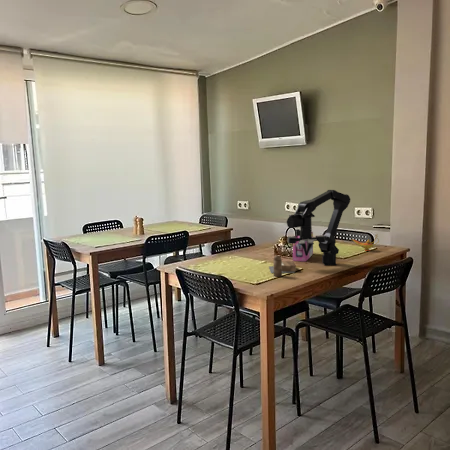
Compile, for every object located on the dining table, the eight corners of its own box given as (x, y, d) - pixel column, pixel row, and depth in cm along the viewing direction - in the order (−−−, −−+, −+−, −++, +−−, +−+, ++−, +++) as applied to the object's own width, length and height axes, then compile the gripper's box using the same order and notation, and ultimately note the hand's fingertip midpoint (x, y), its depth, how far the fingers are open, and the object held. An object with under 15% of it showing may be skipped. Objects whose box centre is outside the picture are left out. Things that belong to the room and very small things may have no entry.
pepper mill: (281, 274, 224) (281, 254, 223) (282, 276, 221) (281, 256, 219) (273, 275, 225) (273, 254, 223) (274, 277, 221) (273, 256, 219)
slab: (293, 261, 239) (280, 261, 239) (295, 265, 229) (281, 265, 229) (293, 266, 239) (280, 266, 239) (295, 271, 229) (282, 271, 229)
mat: (291, 266, 241) (291, 265, 241) (294, 272, 227) (294, 272, 227) (268, 267, 241) (268, 266, 241) (270, 273, 228) (270, 272, 228)
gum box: (306, 262, 251) (305, 238, 249) (291, 261, 253) (291, 237, 251) (313, 253, 273) (313, 231, 271) (300, 253, 276) (300, 231, 274)
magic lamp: (352, 248, 284) (352, 231, 282) (380, 251, 273) (381, 233, 271) (347, 250, 278) (348, 232, 277) (376, 253, 267) (377, 235, 266)
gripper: (320, 223, 241) (321, 251, 243) (285, 224, 241) (286, 253, 243) (325, 226, 230) (325, 256, 232) (288, 227, 230) (289, 257, 232)
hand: (306, 255), depth 235 cm, fingers closed
